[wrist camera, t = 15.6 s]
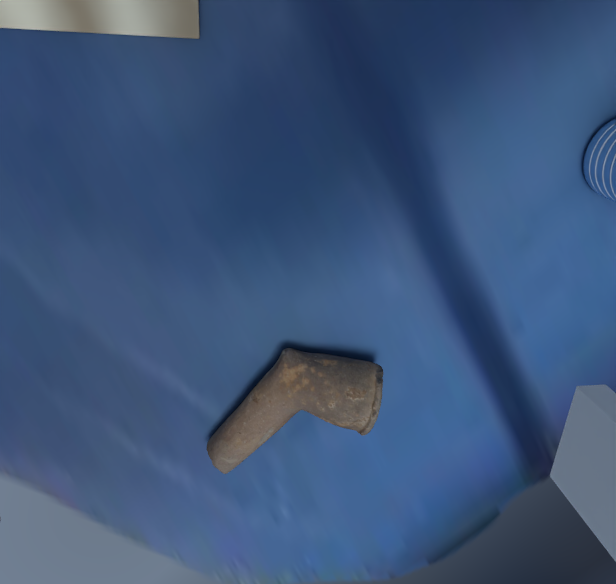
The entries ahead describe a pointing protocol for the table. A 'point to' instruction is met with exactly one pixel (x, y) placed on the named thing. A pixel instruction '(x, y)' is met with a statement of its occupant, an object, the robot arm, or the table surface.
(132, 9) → the birch board
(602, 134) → the water bottle
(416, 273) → the table surface
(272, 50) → the table surface
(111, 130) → the table surface
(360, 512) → the table surface
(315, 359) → the pipe
